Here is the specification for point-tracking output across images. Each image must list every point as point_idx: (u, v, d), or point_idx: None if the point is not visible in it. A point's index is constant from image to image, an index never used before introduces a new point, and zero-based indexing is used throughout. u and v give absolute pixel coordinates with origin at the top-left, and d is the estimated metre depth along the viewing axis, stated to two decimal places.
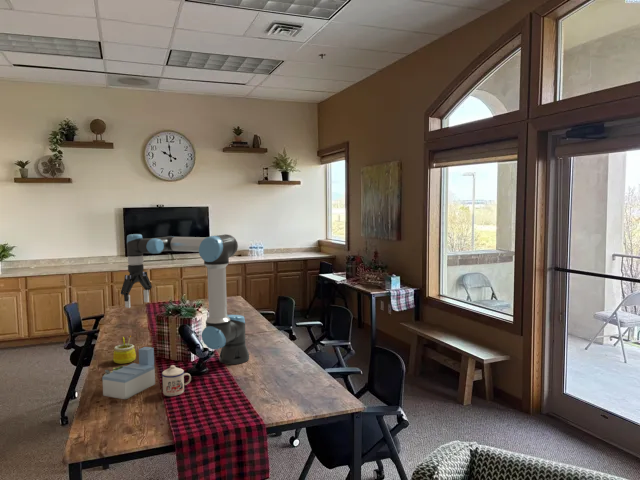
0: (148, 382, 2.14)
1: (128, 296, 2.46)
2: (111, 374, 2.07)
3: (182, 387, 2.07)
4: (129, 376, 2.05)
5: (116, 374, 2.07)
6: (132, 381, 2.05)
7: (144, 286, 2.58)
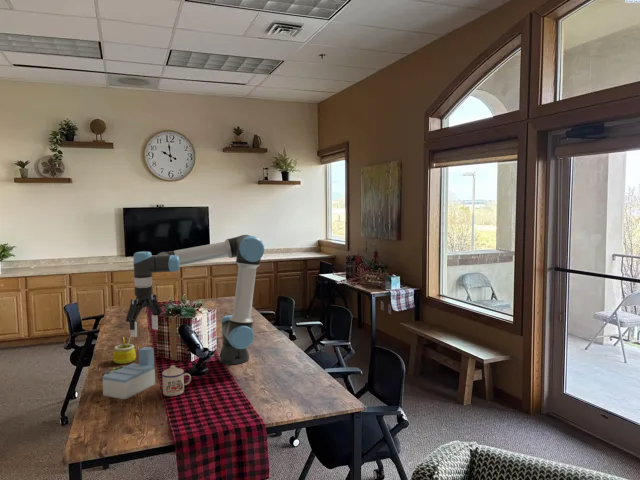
0: (148, 382, 2.14)
1: (134, 324, 2.13)
2: (111, 374, 2.07)
3: (182, 387, 2.07)
4: (129, 376, 2.05)
5: (116, 374, 2.07)
6: (132, 381, 2.05)
7: (153, 311, 2.25)
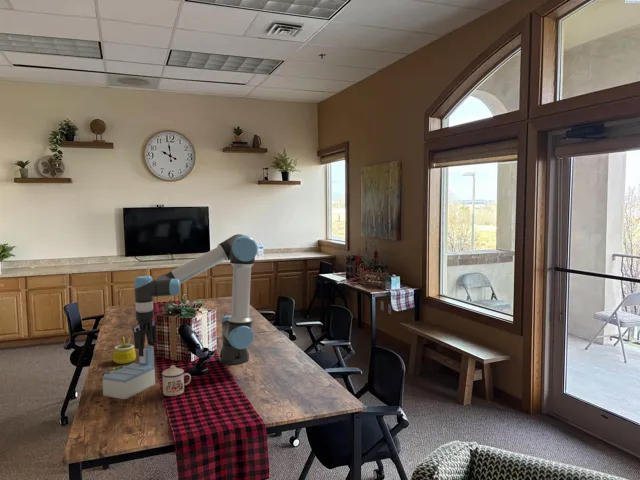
0: (148, 382, 2.14)
1: (143, 350, 2.18)
2: (111, 374, 2.07)
3: (182, 387, 2.07)
4: (129, 376, 2.05)
5: (116, 374, 2.07)
6: (132, 381, 2.05)
7: (149, 339, 2.23)
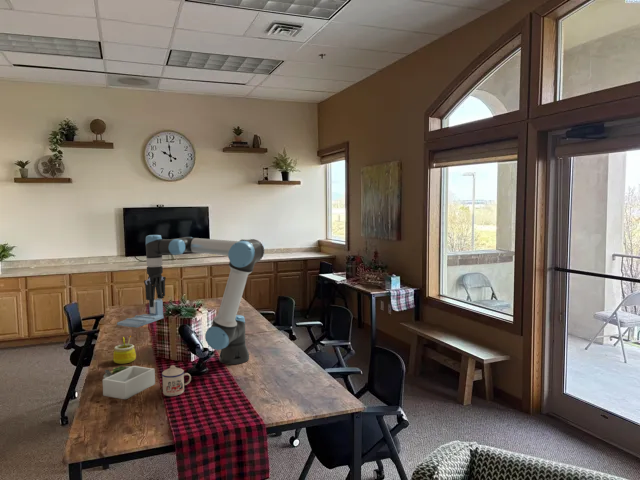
0: (148, 382, 2.14)
1: (154, 302, 2.41)
2: (125, 321, 2.31)
3: (182, 387, 2.07)
4: (141, 322, 2.28)
5: (129, 321, 2.31)
6: (132, 381, 2.05)
7: (158, 293, 2.46)
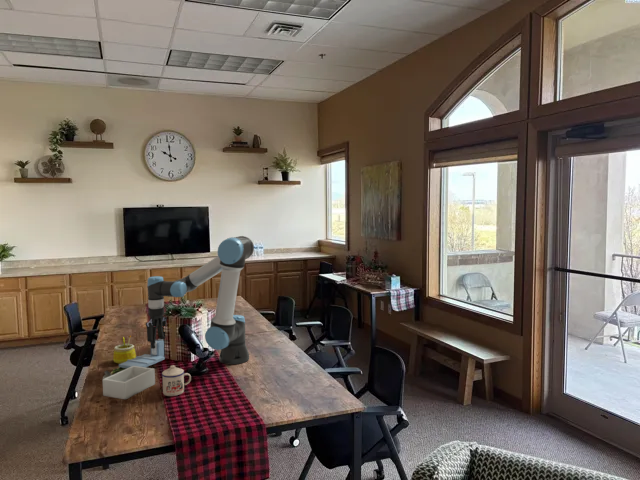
0: (148, 382, 2.14)
1: (155, 343, 2.43)
2: (126, 362, 2.32)
3: (182, 387, 2.07)
4: (142, 364, 2.30)
5: (131, 363, 2.32)
6: (132, 381, 2.05)
7: (160, 333, 2.48)
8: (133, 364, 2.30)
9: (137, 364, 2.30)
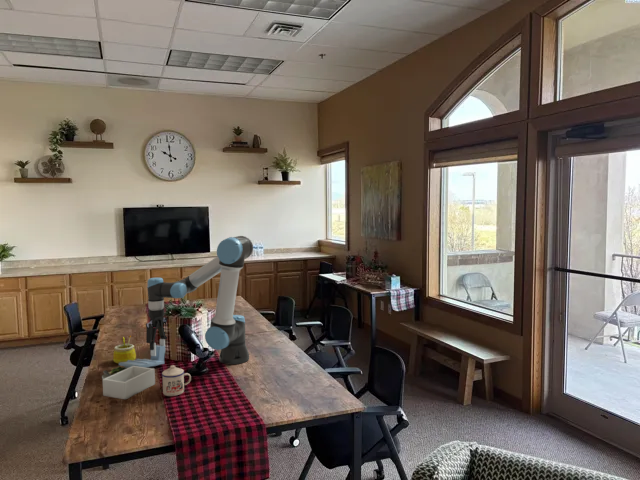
0: (148, 382, 2.14)
1: (154, 344, 2.42)
2: (126, 362, 2.33)
3: (182, 387, 2.07)
4: (142, 364, 2.30)
5: (131, 362, 2.33)
6: (132, 381, 2.05)
7: (161, 334, 2.49)
8: (133, 363, 2.30)
9: (137, 363, 2.31)
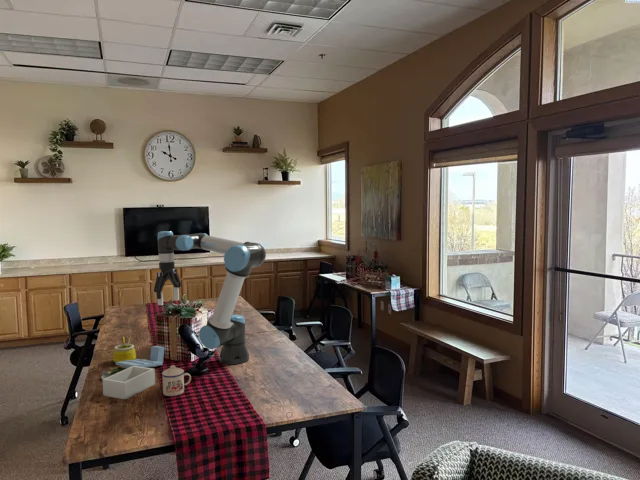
0: (148, 382, 2.14)
1: (161, 293, 2.43)
2: (124, 362, 2.33)
3: (182, 387, 2.07)
4: (139, 364, 2.29)
5: (128, 362, 2.32)
6: (132, 381, 2.05)
7: (174, 284, 2.56)
8: (130, 363, 2.30)
9: (134, 363, 2.30)
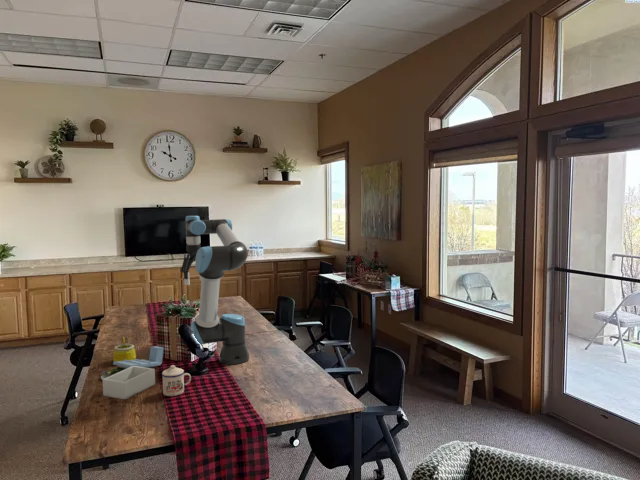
0: (148, 382, 2.14)
1: (188, 274, 2.60)
2: (121, 361, 2.33)
3: (182, 387, 2.07)
4: (135, 364, 2.29)
5: (125, 362, 2.32)
6: (132, 381, 2.05)
7: None
8: (126, 363, 2.30)
9: (130, 363, 2.30)
